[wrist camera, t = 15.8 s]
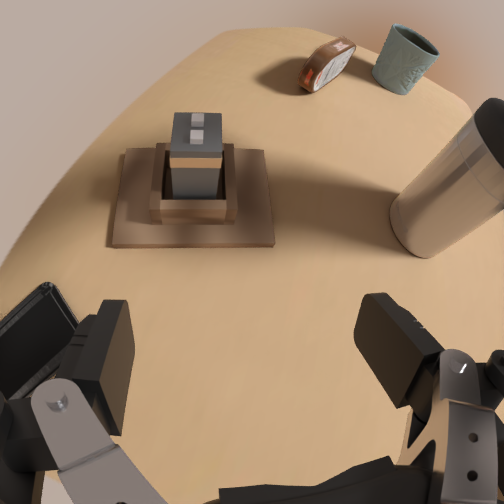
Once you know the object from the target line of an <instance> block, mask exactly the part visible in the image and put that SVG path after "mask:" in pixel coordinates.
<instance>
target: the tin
mask: <svg viewBox="0 0 504 504" xmlns="http://www.w3.org/2000/svg"><path fill="white" fill-rule="evenodd" d="M355 50H356V45H355V44H354V43H353V42H351V41H350V40H348V39H347V38H345V37H344V36H342V37H339V38H337V39H335V40H333V41H330V42H328V43H326V44H324V45H322V46H320V47H319V48H318V49H317V50H316V51H315V52H314V53H313V54H312V55H311V56H310V57H309V59H308V60H307V62H306V63H305V65H304V67H303V68H302V70H301V72H300V75H299V77H298V85H299V86H302V87H303V88H305V89H306V90H308V91H310V92H312V93H314V92H316V91H318V90H319V89H321V88H322V87H324V86H325V85H326V84H328V83H329V82H331V81H332V80H333V79H335V78H336V77H337V76H338V75H339V74H340V73H341V72H342V71H343V69H344V68H345V67H346V65H347V63H348V61H349V59H350V57H351V56H352V54H353V53H354V51H355Z"/></svg>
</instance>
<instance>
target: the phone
mask: <svg viewBox="0 0 504 504" xmlns="http://www.w3.org/2000/svg"><path fill="white" fill-rule="evenodd" d="M78 324H79V322H78V320H77V318H76V317H75V315H74V314H73V312H72V311H71V309H70V307H69V306H68V304H67V303H66V301H65V299H64V298H63V296H62V294H61V293H60V291H59V289H58V288H57V287H56V286H55V285H54V284H53V283H51V282H45V283H43V284H41V285H40V286H39V287H38V288H37V289H36V290H35V291H33V292H32V293H31V294H30V295H29V296H28V297H27V298H26V299H24V300H23V301H22V302H21V303H20V304H19V305H18V306H17V307H16V308H15V309H14V310H12V311H11V312H10V313H9V314H8V315H7V316H6V317H5V318H4V319H3V320H2V321H1V322H0V391H1V392H2V394H3V396H4V397H5V399H6V400H11V399H21V398H29V397H30V396H31V395H32V394H33V392H34V391H35V389H36V388H37V387H38V386H39V385H40V384H42V383H44V382H46V381H48V380H49V379H50V378H52V377H53V376H54V375H55V374H56V373H57V371H58V369H59V366H60V364H61V362H62V359H63V357H64V355H65V352H66V350H67V348H68V346H70V344H69V343H70V341H71V339H72V337H74V332H75V330H76V328H77V326H78Z"/></svg>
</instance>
